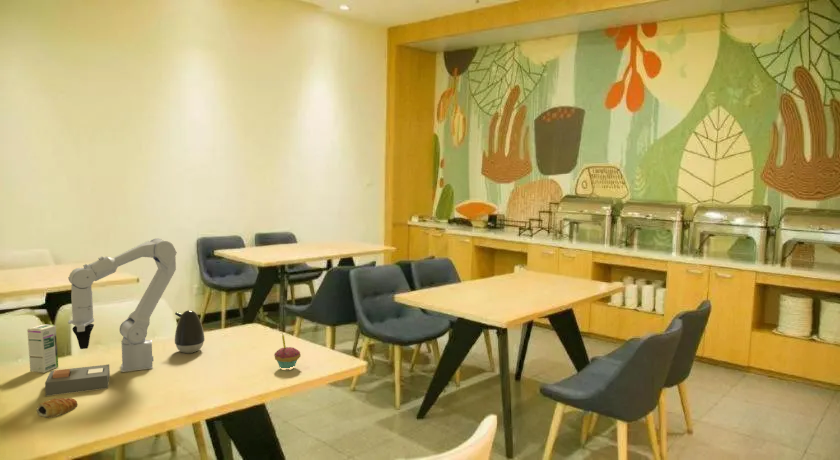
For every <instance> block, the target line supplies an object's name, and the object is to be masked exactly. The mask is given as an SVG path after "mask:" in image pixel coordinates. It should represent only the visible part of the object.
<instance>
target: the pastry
mask: <svg viewBox="0 0 840 460" xmlns="http://www.w3.org/2000/svg"><path fill="white" fill-rule="evenodd" d="M77 407H78V401H77V400H76V399H74V398H71V397H67V398H65V397H63V398H60V397H59V398H51V399H50V400H45V401H43V402H40V403H39V404H38V406H37V408H36V413H37V415H38V416H39V417H44V418H55V417H57V416H58V415H64V414H66V413H68V412H71V411H73V410H75V409H76V408H77Z"/></svg>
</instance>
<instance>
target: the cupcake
mask: <svg viewBox="0 0 840 460" xmlns="http://www.w3.org/2000/svg"><path fill="white" fill-rule="evenodd" d="M281 334H282V335H281V338H282V345H283V347H281V348H279V349H278V350H276V352H274V355H273V356H274V360H276V362H277V364H278V366H279V368H280V367H281V368H290V367H293V366H296V364H297V361H298V360H299V359H300V358H301V352H300V351H299V350H298V349H296V348H295V347H293V346H286V340H285V334H283V332H281Z"/></svg>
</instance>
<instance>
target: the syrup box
mask: <svg viewBox="0 0 840 460" xmlns="http://www.w3.org/2000/svg"><path fill="white" fill-rule="evenodd" d="M26 331H27V341H28V342H27V345H28V356H29V359H28V361H29V371H30V372H34V373H42V374H43V373H44V374H45V373H47V372H50V371H53V370H55V369H57V368H58V367H59V358H58V357H59V356H58V340H57V325H55V324H48V323H46V324H40V325H36V326H34V327H30V328H27V329H26Z"/></svg>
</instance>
